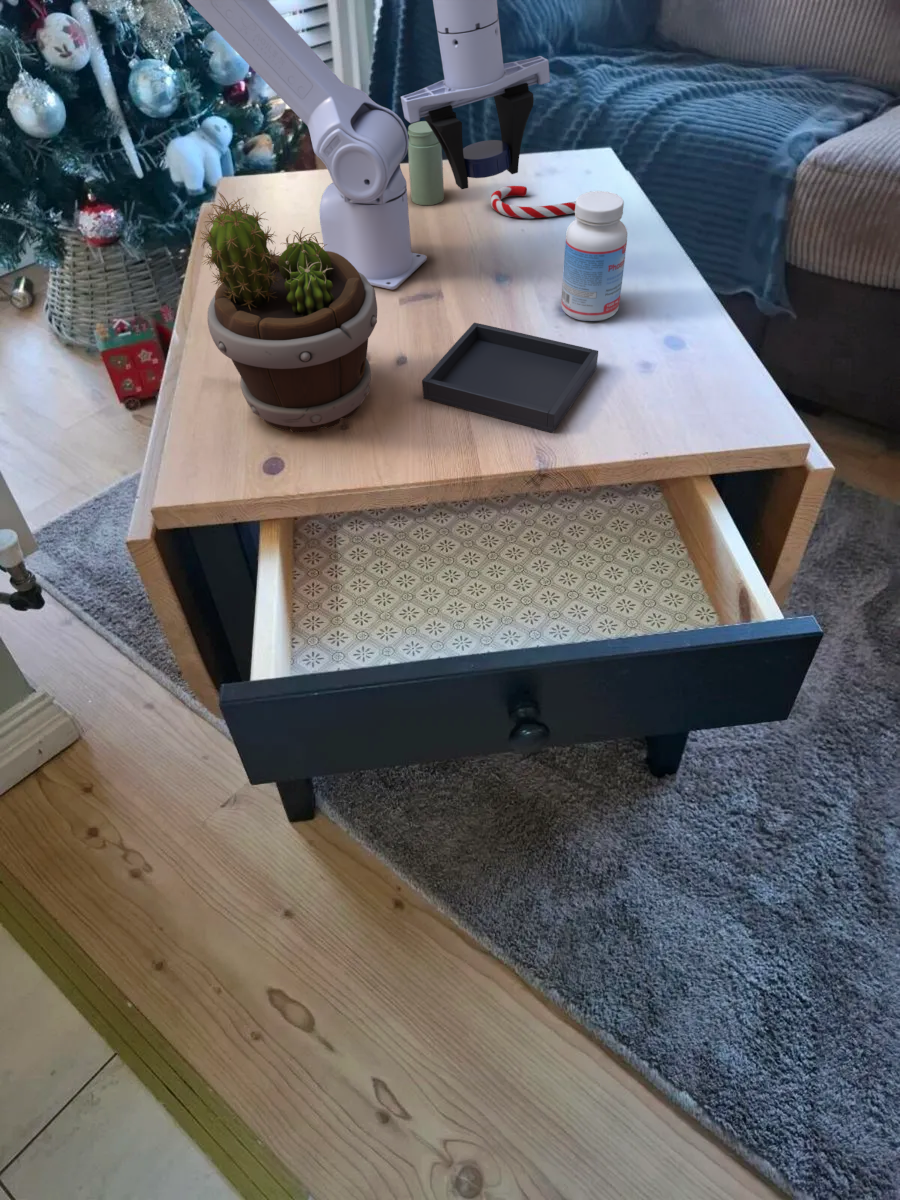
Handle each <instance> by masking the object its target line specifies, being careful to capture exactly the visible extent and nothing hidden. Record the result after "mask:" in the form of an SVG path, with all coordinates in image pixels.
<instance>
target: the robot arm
mask: <svg viewBox="0 0 900 1200" xmlns="http://www.w3.org/2000/svg"><path fill="white" fill-rule="evenodd" d="M186 1H187V2H188V3H189V4H190V5H191V6H192V8H194V9H195V10H196V11H197V12H198V14H199V15H200V16H201V17H202V18H203V19H204V20H205V21H206V22H207V23H208V24H209V25H210V26H211V27H212V28H213V29H214V31H216V32H217V33H218V34H219V35H220V37H222V39H223V40H224V41H225V42H226V43H227V44H228V45H229V46H230V47H231V48H232V49H233V50H234V51H235V52H236V53H237V54H238V55H239V56H240V57H241V58H242V59H243V60H244V61H245V63H246V64H247V65H248V66H249V67H250V68H251V69H252V70H253V71H254V72H256V75H258V76H259V77H260V79H262V80H263V82H265V84H267V85H268V87H269V88H270V89H271V90H272V91H273V92H274V93H275V94H276V95H277V96H278V97H279V98H280V99H281V100H282V101H283V102H284V103H285V104H286V106H287V107H288V108H290V109H291V111H292V112H293V113H294V114H295V115H296V116H297V117H298V118H299V119H300V120H301V121H302V122H303V123H304V124H305V126H307V128H308V132H309V135H310V136H309V137H310V140H311V146H312V150H313V152H314V155H316V156H317V158H318V159H320V161H321V162H322V163H323V164H324V166H325V168H326V169H327V171H328V173H329V176H330V179H331V181H332V182H331V183H329V185H327V187H326V188H325V189H324V191H323V193H322V196H321V198H320V202H319V203H320V204H319V223H320V224H319V225H320V230H321V237H322V243H323V244H322V245H323V246H324V245H325V246H324V247H323V249H324V250H325V251H330V252H334V253H337V254H339V255H341V256H343V257H344V258H345V259H347V260H348V261H349V262H350V263H351V264H352V265H353V266H354V267H355V268H356V270H357V271H358V272H359V273H361V274H363V275H364V276H365V278H366V279H367V280H368V282H369V283H370V284H371V286H373V287H379V288H383V289H388V290H395V289H397V288H398V287H400V286H401V284H403V283H404V282H405V281H406V280H407V279H408V278H409V277H411V276H412V274H413V273H414V272H415V271H417V269H419V268H420V267H421V266H422V265H423V264H424V263H425V262H426V261H427V260H428V259H427V255H426V254H421V253H417V252H412V240H411V229H410V227H411V226H410V213H409V202H408V201H409V200H408V187H407V179H406V177H405V175H404V174H403V171H402V169H401V163H402V162H403V161H404V159H405V157H406V156H407V154H408V145H409V140H408V139H409V135H408V129H407V127H406V125H405V123H404V122H403V120H402V118H401V117H400V116H399V115H398V114H397V113H396V112H395V111H393V110H392V109H389V108H387V107H385V106H382V105H380V104H379V103H376V102H375V101H374V100H372V98H371V97H370V96H369V95H368V94H367V93H366V92H365V91H364V90H361V89H360V88H357V87H354V86H352V85H349V84H346V83H344V82H343V81H341V78H339V77H338V76H337V74H335V73H334V71H333V70H332V69H331V68H330V67H329V66H328V65H327V64H326V63H325V62H324V61H323V59H322V58H321V57H320V56H319V55H318V54H317V53H316V52H315V51H314V50H313V48H312V47H311V46H310V45H309V44H308V43H307V41H305V40H304V39H303V37H302V36H301V35H300V34H299V33H298V32H297V31H296V30H295V29H294V27H292V25H291V24H290V23H289V22H288V21H287V20H286V19H285V18H284V17H283V16H282V14H281V13H280V12H279V11H278V10H277V9H276V8H275V6H273V4H271V2H270V1H269V0H186ZM432 4H433V13H434V18H435V19H434V20H435V25H436V30H437V31H436V33H437V38H438V46H439V52H440V59H441V66H442V72H443V79H442V80H439V81H437V82H435V83H433V84H430V85H427V86H425V87H423V88H421V89H419V90H416V91H414V92H410V93H408V94H405V95H402V96H401V95H400V101H401V106H402V112H403V117H404V119H405V120H406V121H407V122H408V123H410V124H413V123H416V122H420V120H421V119H422V118H424V121H426V122H427V123H428V125H429V126H430V128H431V129H432V131H433V132H434V134H435V136H436V137H437V139H438V141H439V143H440V145H441V146H442V151H443V152H444V154H445V156H446V159H447V161H448V164H449V166H450V168H451V172H452V175H453V178H454V181H455V185H456V186H457V187H458V188H460V190H466V189H469V177H467V171H466V166H465V161H464V155H463V148H464V145H463V144H464V143H463V122H462V121H461V120H460V119H458V118H457V113H456V111H454V110H453V109H455V108H459V107H463V106H465V105H470V104H472V103H476V102H479V101H482V100H486V99H489V98H493V100H494V103H495V108H496V112H497V118H498V125H499V129H500V136H501V141H504V142H506V143H507V144H508V146H509V149H510V157H511V163H510V166H509V168H508V169H507V170H506V171H507V172H509V174H511V175H515V174H518V173H519V162H520V155H521V147H522V143H523V137H524V133H525V131H526V130H525V129H526V126H527V123H528V120H529V117H530V114H531V112H532V109H533V108H534V101H535V100H534V99H535V97H534V93H533V92H532V91H530V89H529V87H530V86H533V85H537V84H538V85H540V86H541V85H545V84H548V83H550V82H551V76H550V62H549V61H550V60H549V59H547V58H545V57H543V56H542V55H538V56H534V57H531V58H527V59H522V60H516V61H510V62H505V63H504V57H503V48H502V39H501V37H502V36H501V29H500V19H499V18H500V17H499V9H498V0H432ZM326 244H327V245H326Z"/></svg>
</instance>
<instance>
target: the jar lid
mask: <svg viewBox="0 0 900 1200" xmlns="http://www.w3.org/2000/svg"><path fill="white" fill-rule="evenodd" d="M463 155H464V161H465V166H466V171H467V177H468V178H471V179H485V178H490V177H494V176H497V175H500V174H502V173H504V172H506V171H507V169H508V168H509V166H510V163H511V157H510V149H509V146H508V144H507V143H506V142H504V141H502V140H499V139H490V140H489V139H487V140H482V141H478V142H474V143H471V144H469V145H467V146H465V147H463Z"/></svg>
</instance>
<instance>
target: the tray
mask: <svg viewBox="0 0 900 1200" xmlns="http://www.w3.org/2000/svg"><path fill="white" fill-rule="evenodd" d="M598 358H599V350H597V349H592V348H589V347H583V346H580V345H576V344H571V343H566V342H562V341H557V340H553V339H549V338H545V337H540V336H536V335H532V334H527V333H524V332H519V331H514V330H510V329H505V328H501V327H496V326H493V325H489V324H483V323H478V322H473V323H472V324H471V325H470V326H469V328H468V329H467V330H465V332H464V333H463V334H462V335H461V336H460V337H459V338H458V339H457V340H456V342H455V343H454V344H453V345H452V347H450V348H449V350H448V351H447V352H446V353H445V354H443V356H442V357H441V358H440V360H439V361H438V362H436V364H435V365H434V366H433V368H432V369H431V370H430V371H429V372H428V373H427V374H426V375H425V377H423V378H422V380H421V385H422V387H421V388H422V398H423V399H425V400H429V401H432V402H436V403H440V404H443V405H446V406H451V407H455V408H457V409H458V408H459V409H462V410H466V411H469V412H474V413H477V414H481V415H485V416H489V417H492V418H496V419H499V420H503V421H506V422H511V423H515V424H518V425H522V426H526V427H530V428H533V429H537V430H541V431H544V432H549V433H554V432H555V431H556V430H557V428H558V426H559V425H560V424H561V422H562V420H563V419H565V416H566V415H567V413H568V412H569V410H570V409H571V407H572V406H573V405H574V403H575V401H576V400H577V398H578V397H579V395H580V394H581V392H582V391H583V390H584V389H585V387H586V385H587V383H588V382H589V381H590V379H591V378H592V376H593V375H594V373H595V372H596V370H597V368H598Z"/></svg>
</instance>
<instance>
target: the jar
mask: <svg viewBox="0 0 900 1200" xmlns="http://www.w3.org/2000/svg"><path fill="white" fill-rule="evenodd" d="M407 133H408V140H409V145H408V150H407V157H408V158H407V160H408V174H409V189H410V190H409V191H410V200H411V202H412V203H414V204H415V205H419V206H433V205H437V204H440V203H441V202H443V201H444V199H445V192H444V191H445V187H444V184H445V183H444V163H443V161H444V160H443V148H442V146H441V145H440V143H439V141H438V139H437V137H436V136H435V134H434V132H433V131H432V129H431V128H430V126H429V125H428V123H427V122H426V120H422V121H417V122H413V123H410V124H409V125H408V127H407Z"/></svg>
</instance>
